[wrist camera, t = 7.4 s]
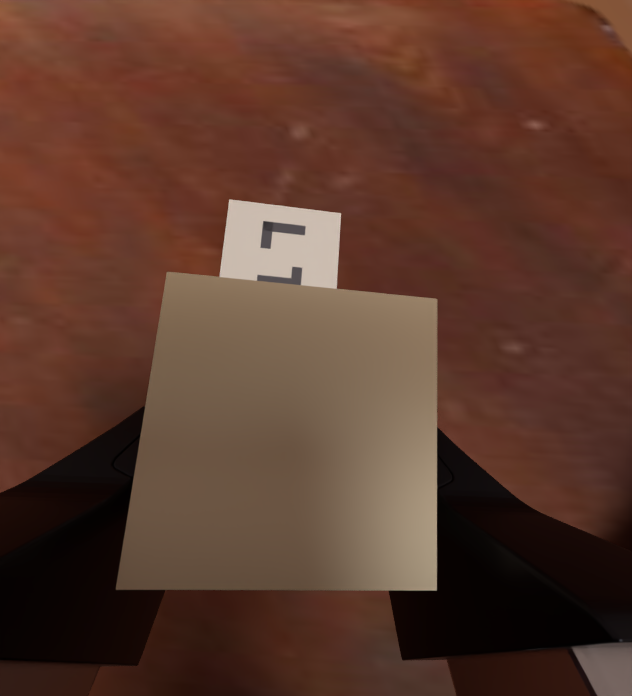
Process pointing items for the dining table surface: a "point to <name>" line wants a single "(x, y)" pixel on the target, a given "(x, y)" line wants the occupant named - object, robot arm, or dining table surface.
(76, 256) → the dining table surface
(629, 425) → the dining table surface
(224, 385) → the pillar
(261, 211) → the tile
